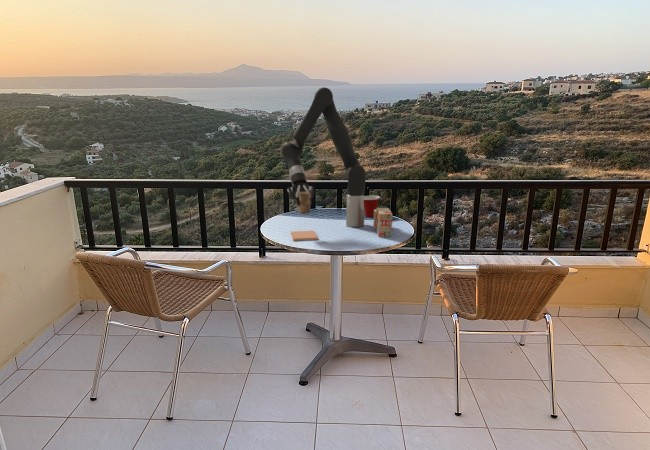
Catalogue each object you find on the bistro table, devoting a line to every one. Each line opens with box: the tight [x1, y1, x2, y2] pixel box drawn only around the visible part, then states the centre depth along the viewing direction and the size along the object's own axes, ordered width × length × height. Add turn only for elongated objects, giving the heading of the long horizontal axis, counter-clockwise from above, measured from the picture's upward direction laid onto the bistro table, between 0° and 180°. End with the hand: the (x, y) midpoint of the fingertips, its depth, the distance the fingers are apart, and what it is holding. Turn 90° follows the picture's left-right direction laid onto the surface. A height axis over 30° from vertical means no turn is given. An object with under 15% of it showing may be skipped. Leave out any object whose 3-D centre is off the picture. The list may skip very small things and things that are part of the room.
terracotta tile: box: [290, 230, 319, 242], centre depth 199 cm, size 12×12×1 cm
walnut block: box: [296, 190, 311, 215], centre depth 194 cm, size 5×5×10 cm
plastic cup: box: [363, 194, 381, 218], centre depth 238 cm, size 11×11×12 cm
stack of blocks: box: [373, 207, 393, 238], centre depth 208 cm, size 21×6×12 cm, turn 1°
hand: (304, 204), depth 193 cm, fingers closed on walnut block, 5 cm apart
